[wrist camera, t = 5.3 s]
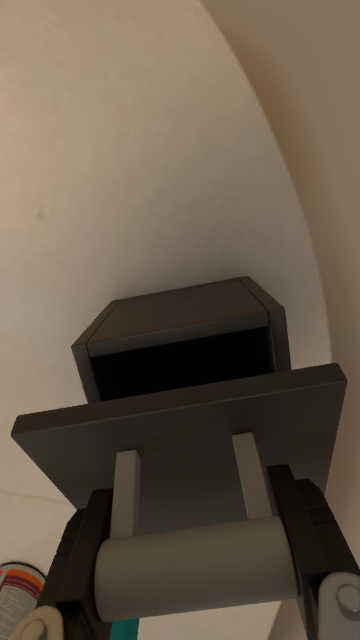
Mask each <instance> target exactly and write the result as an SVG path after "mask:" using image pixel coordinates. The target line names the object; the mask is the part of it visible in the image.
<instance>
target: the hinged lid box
mask: <svg viewBox="0 0 360 640" xmlns="http://www.w3.org/2000/svg"><path fill="white" fill-rule="evenodd" d="M71 348H72V352H73V355H74V359H75V362H76V365H77V369H78V372H79V375H80V379H81V382H82V386H83V389H84V392H85V396H86V399H87V402H88V404H90V403H96V402H102V401H108V400H114V399H120V398H126V397H132V396H138V395H145V394H151V393H157V392H163V391H169V390H175V389H181V388H187V387H193V386H199V385H205V384H211V383H217V382H223V381H229V380H235V379H241V378H247V377H253V376H259V375H265V374H271V373H277V372H283V371H289V370H291V361H290V352H289V343H288V334H287V325H286V315H285V308H284V307H283V306H282V305H280V304H279V303H278V302H277V301H276V300H275V299H274V298H272V297H271V296H270V295H269V294H268V293H267V292H266V291H265V290H263V289H262V288H261V287H260V286H259V285H258V284H257V283H256V282H254V281H253V280H252V279H251V278H250V277H248V276H245V277H240V278H234V279H229V280H223V281H218V282H213V283H207V284H202V285H196V286H191V287H186V288H180V289H175V290H169V291H164V292H159V293H153V294H148V295H142V296H137V297H132V298H126V299H121V300H115V301H111V302H110V303H109V304H108V306H107V307H106V308H105V309H104V310H103V311H102V312H101V313H100V314H99V316H98V317H97V318H96V319H95V320H94V321H93V322H92V323H91V324H90V326H89V327H88V328H87V329H86V330H85V331H84V332H83V333H82V335H81V336H80V337H79V338H78V339H77V340H76V341H75V342H74V343H73V345H72V346H71Z"/></svg>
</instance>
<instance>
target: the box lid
mask: <svg viewBox="0 0 360 640" xmlns="http://www.w3.org/2000/svg"><path fill="white" fill-rule="evenodd" d="M346 386H347V379H346V377H345V375H344V373H343V372H342V370H341V368H340V366H339V365H338V364H337V363H331V364H325V365H319V366H313V367H307V368H301V369H295V370H289V371H283V372H277V373H271V374H265V375H259V376H253V377H247V378H241V379H235V380H229V381H223V382H217V383H211V384H205V385H199V386H193V387H187V388H181V389H175V390H169V391H163V392H157V393H151V394H145V395H138V396H132V397H126V398H120V399H114V400H108V401H102V402H96V403H90V404H84V405H78V406H72V407H66V408H60V409H54V410H48V411H42V412H36V413H30V414H24V415H19V416H17V417H16V420H15V423H14V426H13V429H12V431H11V437H12V438H13V439H14V441H15V442H16V443H17V444H18V445H19V446H20V447H21V448H22V449H23V450H24V452H25V453H26V454H27V455H28V456H29V457H30V458H31V459H32V460H33V462H34V463H35V464H36V465H37V466H38V467H39V468H40V469H41V470H42V471H43V473H44V474H45V475H46V476H47V477H48V478H49V479H50V480H51V481H52V482H53V484H54V485H55V486H56V487H57V488H58V489H59V490H60V491H61V492H62V494H63V495H64V496H65V497H66V498H67V499H68V500H69V501H70V502H71V503H72V505H73V506H74V507H75V508H76V509H77V510H78V509H82V508H87V505H88V502H89V499H90V496H91V493H92V491H93V490H97V489H104V488H111V487H114V492H113V504H112V516H111V528H110V539H107V540H105V541H104V542H103V543H102V544H101V546H100V548H99V551H98V554H97V558H96V564H95V572H94V596H95V604H96V609H97V613H98V615H99V618H100V619H101V620H102V621H104V622H110V621H118V620H127V619H135V618H143V617H151V616H159V615H167V614H175V613H183V612H191V611H199V610H208V609H216V608H224V607H232V606H240V605H248V604H256V603H264V602H272V601H280V600H288V599H296V598H297V597H298V596H299V586H298V579H297V574H296V569H295V564H294V560H293V555H292V551H291V548H290V544H289V540H288V537H287V533H286V530H285V527H284V525H283V522H282V520H281V519H280V517H279V516H274V514H273V510H272V506H271V502H270V496H269V489H268V481H267V474H266V466H273V465H280V464H289V466H290V469H291V471H292V473H293V476H294V478H295V480H300V479H307V478H309V479H310V480H311V481H312V482H313V483H314V484H315V485H316V486H317V487H319V488H320V489H321V491H322V493H323V495H324V493H325V489H326V483H327V479H328V474H329V469H330V464H331V459H332V454H333V450H334V444H335V440H336V435H337V430H338V425H339V420H340V415H341V410H342V406H343V401H344V396H345V391H346Z"/></svg>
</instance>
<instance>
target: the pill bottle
mask: <svg viewBox="0 0 360 640" xmlns="http://www.w3.org/2000/svg"><path fill="white" fill-rule="evenodd" d="M44 583H45V579H44V578H43V576H42V575H41V574H40V573H39V572H37V571H36V570H34V569H32V568H30V567H27V566H23V565H16V564H13V565H6V566H2V567H0V640H7V639H8V637H9V635H10V633H11V632H12V630H13V628H14V627H15V626H16V624H17V623H18V622H19V621H20V620H21V619H22V618H23V617H24V616H25V615H26V614H28V613H29V612H30V611H32V610H34V609H35V606H36V604H37V601H38V599H39V596H40V594H41V591H42V588H43V586H44Z"/></svg>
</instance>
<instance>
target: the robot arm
mask: <svg viewBox="0 0 360 640" xmlns="http://www.w3.org/2000/svg"><path fill="white" fill-rule="evenodd" d="M266 474H267V481H268V489H269V496H270V502H271V506H272V510H273V514H274V516H279V517H280V519H281V520H282V522H283V525H284V527H285V530H286V533H287V537H288V540H289V544H290V548H291V551H292V555H293V560H294V564H295V569H296V574H297V579H298V586H299V596H298V597H297V598H296V600H297V603H298V607H299V610H300V614H301V617H302V621H303V624H304V628H305V631H306V635H307V638H308V640H360V569H359V567H358V565H357V563H356V561H355V559H354V557H353V555H352V553H351V551H350V549H349V546H348V545H347V542H346V540H345V538H344V536H343V534H342V532H341V530H340V528H339V526H338V524H337V522H336V520H335V518H334V515H333V513H332V511H331V509H330V508H329V506H328V503H327V501H326V499H325V497H324V495H323V493H322V491H321V489H320V488H319V487H317V486H316V485H315V484H314V483H313V482H312V481H311V480H310V479H309V478H307V479H300V480H295V478H294V476H293V473H292V471H291V469H290V466H289V464H280V465H273V466H266ZM113 492H114V487H111V488H104V489H97V490H93V491H92V493H91V496H90V499H89V502H88V505H87V508H82V509H78V510H77V511H76V513H75V514H74V515H73V516H72V518H71V519H70V520H69V521H68V523H67V525H66V528H65V530H64V533H63V536H62V538H61V539H62V540H61V542H60V544H59V546H58V549H57V551H56V552H57V554H56V555H55V557H54V559H53V562H52V565H51V567H50V570H49V572H48V575H47V578H46V580H45V583H44V586H43V588H42V591H41V594H40V596H39V599H38V601H37V604H36V606H35V609H34V610H32V611H30V612H29V613H28V614H26V615H25V616H24V617H23V618H22V619H21V620H20V621H19V622H18V623H17V624H16V626H15V627H14V628H13V630H12V632H11V633H10V635H9V637H8V639H7V640H110V636H111V630H112V624H113V621H110V622H104V621H102V620H101V619H100V618H99V615H98V613H97V609H96V604H95V596H94V572H95V564H96V558H97V554H98V551H99V548H100V546H101V544H102V543H103V542H104V541H105V540H107V539H110V528H111V516H112V504H113Z"/></svg>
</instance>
